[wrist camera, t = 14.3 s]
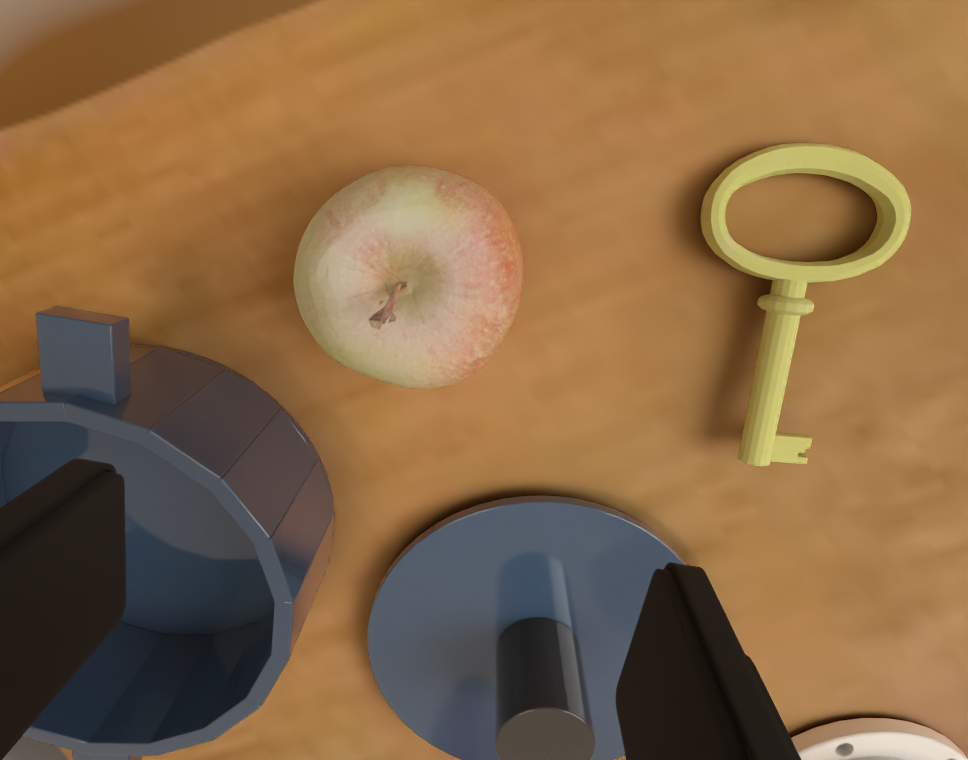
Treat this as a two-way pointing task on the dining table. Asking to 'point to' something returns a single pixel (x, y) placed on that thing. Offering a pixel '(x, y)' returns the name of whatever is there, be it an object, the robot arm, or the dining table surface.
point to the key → (796, 274)
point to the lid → (515, 627)
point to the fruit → (410, 276)
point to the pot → (173, 531)
